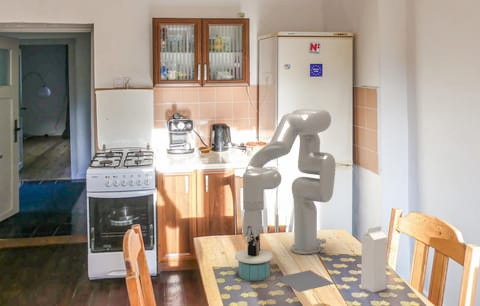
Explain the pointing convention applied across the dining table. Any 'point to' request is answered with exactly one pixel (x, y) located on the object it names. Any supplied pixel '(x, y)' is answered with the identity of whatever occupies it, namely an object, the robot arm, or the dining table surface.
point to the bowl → (254, 271)
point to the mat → (304, 280)
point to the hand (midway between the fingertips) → (253, 252)
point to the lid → (259, 258)
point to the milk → (374, 260)
